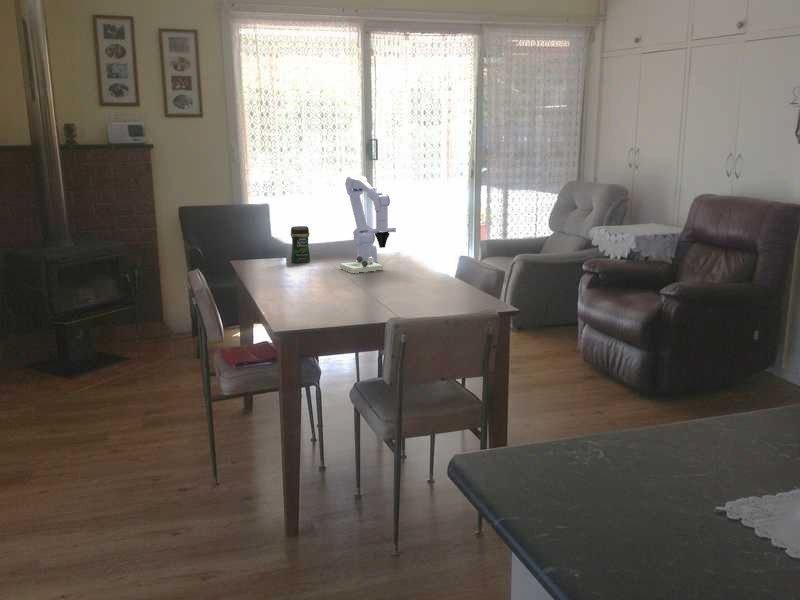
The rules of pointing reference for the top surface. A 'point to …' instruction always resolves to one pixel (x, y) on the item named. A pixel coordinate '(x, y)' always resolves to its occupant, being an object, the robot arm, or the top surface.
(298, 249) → the coffee jar
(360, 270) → the sage board
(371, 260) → the steel ball
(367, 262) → the black rubber ball
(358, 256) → the black rubber ball
